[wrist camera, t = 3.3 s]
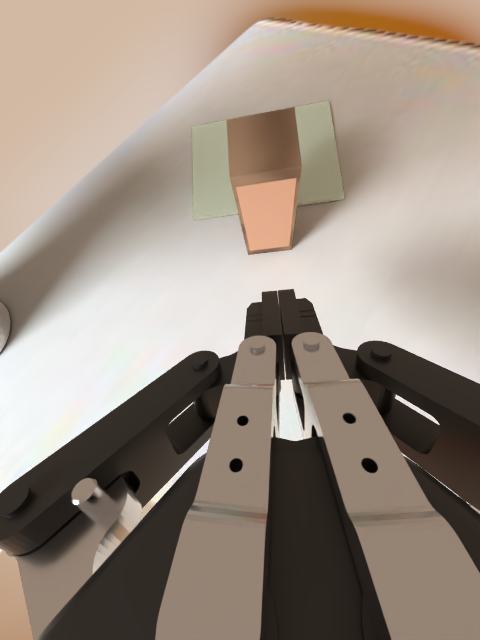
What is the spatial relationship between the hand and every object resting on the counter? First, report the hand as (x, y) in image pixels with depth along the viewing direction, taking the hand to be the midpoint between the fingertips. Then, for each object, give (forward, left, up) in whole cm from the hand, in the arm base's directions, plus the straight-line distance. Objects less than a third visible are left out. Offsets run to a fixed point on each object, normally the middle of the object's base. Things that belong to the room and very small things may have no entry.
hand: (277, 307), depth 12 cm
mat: (0, +23, -15) cm, 27 cm away
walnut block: (0, +13, -15) cm, 20 cm away
